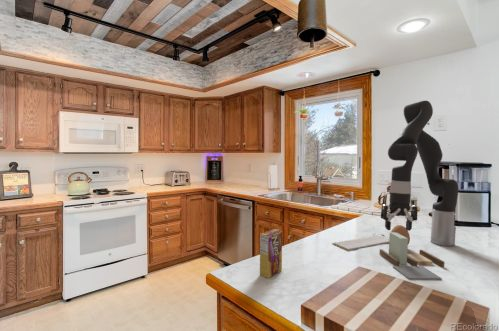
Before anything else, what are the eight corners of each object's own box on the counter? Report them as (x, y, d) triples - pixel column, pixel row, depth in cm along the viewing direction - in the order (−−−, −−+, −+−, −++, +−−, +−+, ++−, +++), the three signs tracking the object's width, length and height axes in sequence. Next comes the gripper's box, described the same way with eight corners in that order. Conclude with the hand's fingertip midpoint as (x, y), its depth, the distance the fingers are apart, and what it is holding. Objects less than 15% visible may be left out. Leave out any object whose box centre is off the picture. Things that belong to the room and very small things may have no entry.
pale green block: (395, 257, 115) (396, 232, 115) (406, 265, 107) (408, 238, 107) (388, 257, 115) (389, 232, 115) (399, 265, 107) (400, 238, 107)
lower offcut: (419, 258, 116) (419, 256, 116) (434, 267, 107) (434, 264, 107) (403, 258, 116) (403, 256, 116) (417, 267, 107) (417, 264, 107)
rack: (421, 255, 118) (422, 249, 118) (444, 267, 105) (444, 261, 105) (379, 254, 118) (379, 249, 118) (396, 267, 105) (396, 261, 105)
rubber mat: (422, 268, 105) (422, 266, 105) (441, 280, 95) (441, 278, 95) (392, 267, 104) (392, 265, 104) (408, 280, 94) (408, 277, 94)
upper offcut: (419, 256, 116) (419, 254, 116) (432, 264, 108) (432, 261, 108) (405, 256, 116) (406, 253, 116) (417, 264, 108) (417, 261, 108)
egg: (385, 246, 129) (386, 223, 129) (398, 244, 132) (399, 222, 132) (400, 252, 121) (401, 228, 121) (413, 250, 124) (414, 226, 124)
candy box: (272, 267, 102) (273, 228, 102) (282, 270, 100) (283, 230, 99) (258, 274, 96) (259, 233, 95) (268, 278, 93) (269, 236, 92)
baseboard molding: (329, 244, 133) (347, 252, 122) (329, 238, 133) (348, 246, 122) (372, 236, 146) (392, 243, 135) (372, 231, 146) (392, 238, 135)
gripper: (411, 190, 114) (409, 227, 115) (378, 189, 114) (376, 227, 114) (423, 193, 107) (420, 233, 107) (388, 192, 106) (386, 232, 107)
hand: (398, 229), depth 111 cm, fingers open, 8 cm apart
